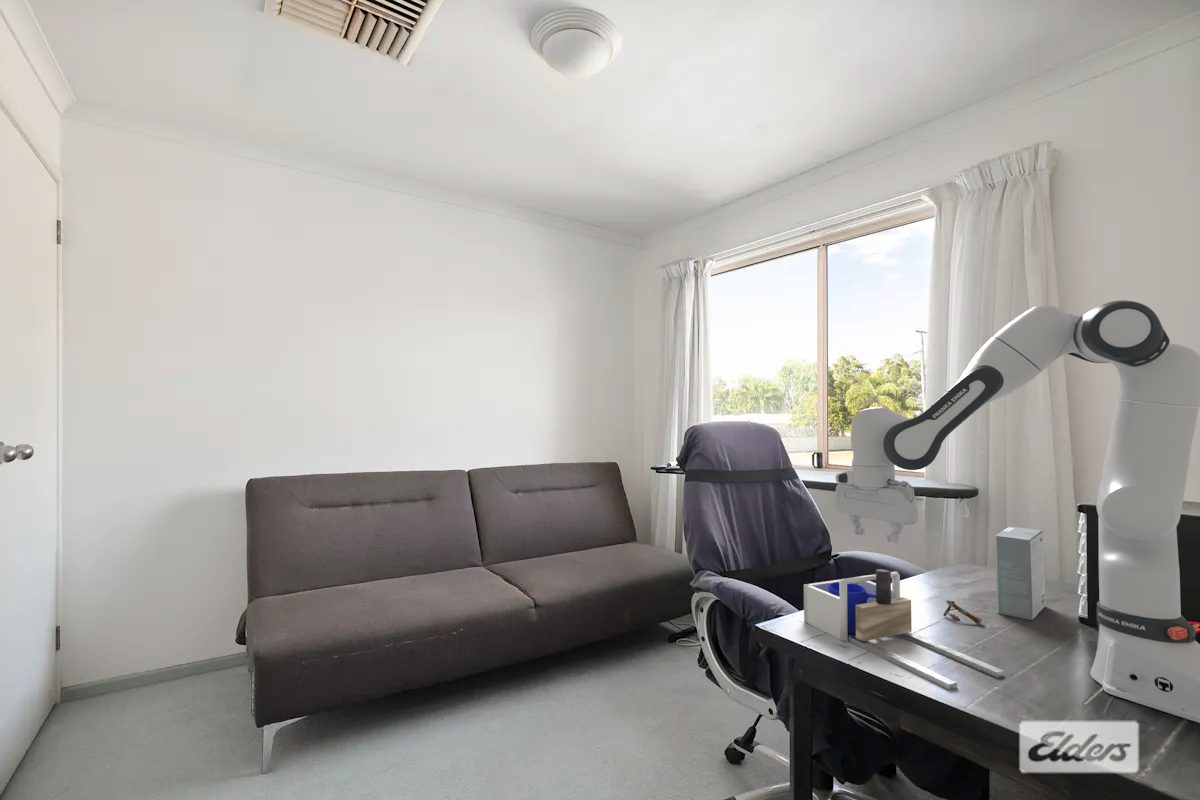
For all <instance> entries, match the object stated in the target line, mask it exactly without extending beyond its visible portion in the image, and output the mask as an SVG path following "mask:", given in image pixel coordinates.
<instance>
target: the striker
mask: <svg viewBox="0 0 1200 800" xmlns="http://www.w3.org/2000/svg"><path fill="white" fill-rule="evenodd" d="M891 572H892V571H890V570H888V569H884V568H883V569H881V568H880V569H879V568H878V569H876V570H875V574H876V580H875V583H876V602H872V603H866V604H860V605H855V606H856V634H855V635H856V638H857V639H859V640H861V641H873V640H877V639H881V638H887V637H892V636H899V635H898V634H903V633H908V632H912V599H910V598H907V597H904V596H903V597H900V598H896V599H891V589H892V578H891ZM912 633H913V632H912Z"/></svg>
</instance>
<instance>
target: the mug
mask: <svg viewBox="0 0 1200 800" xmlns="http://www.w3.org/2000/svg"><path fill="white" fill-rule="evenodd" d="M828 590H829V593H831V594H833V595H836V596H838V597H840V595H839V582H835V583H831V584H829V585H828ZM870 597H873V598H876V594H871V593H867V592H866V589H865V588H864V587H862V586H860V585H857V584H853V583H851V584H847V615H848V635H853V634H855V635H856V606H855V605H860V604H866V603H867V599H868V598H870Z"/></svg>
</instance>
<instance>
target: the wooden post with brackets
mask: <svg viewBox="0 0 1200 800" xmlns="http://www.w3.org/2000/svg"><path fill="white" fill-rule="evenodd" d="M945 602H946V603H947V605H948V606H947V608H946V609H945V611H944V612H943V616H944V617H946V616H947V615H949V616H950V617H951V619H953V620H955V621H961V618H959V616H958V615H956V614H955V613H952V612H951V613H950V611H956V610H957V612H958V613H960V614H962V615H964V617H967V618H969V619H970V620H971V621H973V622H974V623H975V624H976V626H979V625H981V624H982V622H983V619H984V618H983V617H977V616H976V615H973V614H971V613H970V612H969V611H967V610H966V609H964V608H963V607H960V606H959V605H957V603H956V602H955V601H954V600H949V599H947V600H946V601H945Z"/></svg>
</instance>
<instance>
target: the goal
mask: <svg viewBox="0 0 1200 800" xmlns="http://www.w3.org/2000/svg"><path fill="white" fill-rule="evenodd" d="M890 572H891V599H896V598H901V581H900V579H901V577H900V574H899V572H898V571H890ZM873 581H876V573H875V574H870V575H869V574H868V575H861V576H855V577H853V576H852V577H848V578H841V579H834V580H827V581H820V582H813V583H807V584H803V622H804V623H806V624H808V625H810V626H812V627H814V628H816V629H818V630H820V631H822V632H825V633H826V634H828V635H830V636H832V637H834V638H836V639H838V640H840V641H842V642H849V634H848V615H847V584H851V583H853V584H857V585H860V586H862V587H864V588H865V589H866V592H867V593H871V594H876V582H873ZM835 582H839V595H840V597H838V596H836V595H833V594H831V593H829V590H828V585H829V584H831V583H835ZM872 602H876V598H873V597H870V598H868V599H867V603H872Z"/></svg>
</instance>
